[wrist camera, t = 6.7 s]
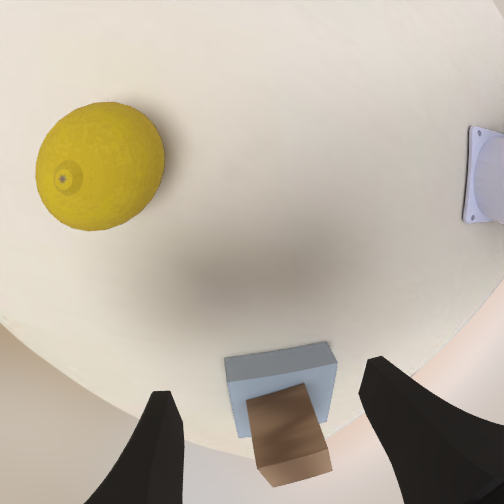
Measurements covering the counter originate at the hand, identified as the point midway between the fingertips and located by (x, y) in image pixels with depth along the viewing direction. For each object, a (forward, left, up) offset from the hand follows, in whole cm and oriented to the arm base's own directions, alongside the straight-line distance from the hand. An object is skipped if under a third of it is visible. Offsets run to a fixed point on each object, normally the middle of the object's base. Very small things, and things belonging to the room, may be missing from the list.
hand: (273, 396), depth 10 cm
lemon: (+6, -8, -10) cm, 14 cm away
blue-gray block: (-2, +11, -10) cm, 15 cm away
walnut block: (-2, +11, -7) cm, 13 cm away
